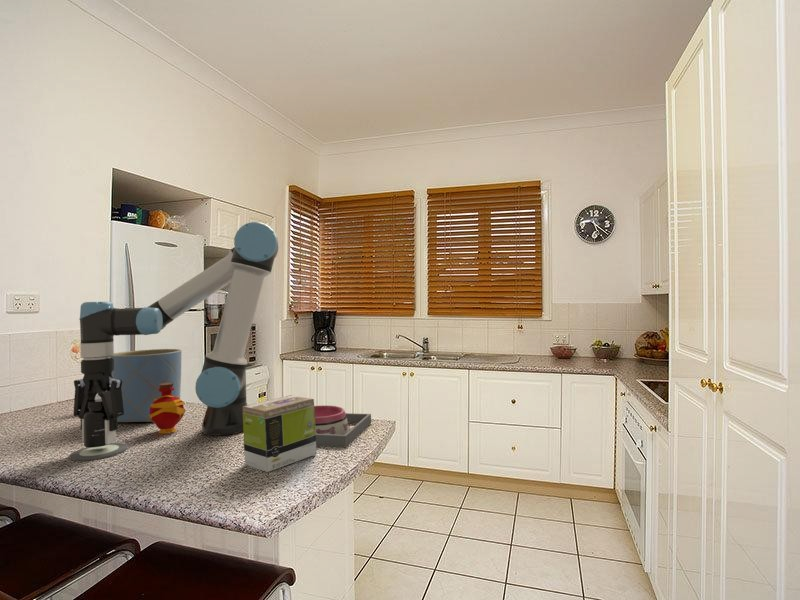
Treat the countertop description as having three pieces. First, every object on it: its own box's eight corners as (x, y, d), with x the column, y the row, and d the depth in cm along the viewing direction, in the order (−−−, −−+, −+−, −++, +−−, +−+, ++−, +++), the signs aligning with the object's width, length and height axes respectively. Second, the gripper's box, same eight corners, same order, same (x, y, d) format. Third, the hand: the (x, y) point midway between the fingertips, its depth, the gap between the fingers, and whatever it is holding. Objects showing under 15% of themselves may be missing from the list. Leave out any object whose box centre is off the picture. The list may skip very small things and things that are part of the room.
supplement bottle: (98, 448, 118) (97, 403, 118) (77, 447, 119) (76, 402, 119) (120, 440, 125) (119, 397, 125) (99, 440, 126) (98, 397, 126)
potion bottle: (144, 437, 135) (143, 388, 135) (153, 428, 145) (152, 382, 145) (182, 434, 138) (181, 385, 138) (189, 425, 148) (187, 380, 148)
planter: (136, 410, 173) (135, 349, 173) (194, 409, 172) (193, 348, 172) (94, 426, 150) (92, 356, 150) (160, 425, 149) (158, 355, 149)
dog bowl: (362, 429, 139) (361, 407, 139) (320, 446, 123) (319, 421, 123) (319, 422, 149) (318, 401, 149) (275, 436, 134) (274, 413, 134)
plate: (138, 446, 127) (138, 443, 127) (98, 462, 114) (98, 459, 114) (100, 444, 130) (100, 441, 130) (57, 459, 117) (57, 457, 117)
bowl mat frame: (371, 423, 145) (370, 413, 145) (346, 446, 121) (345, 435, 121) (302, 420, 150) (301, 411, 150) (265, 443, 127) (265, 432, 127)
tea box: (293, 448, 121) (291, 393, 122) (317, 455, 115) (315, 398, 115) (243, 464, 110) (241, 404, 110) (266, 473, 103) (265, 409, 104)
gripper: (139, 356, 124) (140, 439, 124) (80, 356, 128) (82, 436, 128) (116, 359, 116) (118, 448, 116) (55, 359, 121) (56, 444, 121)
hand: (99, 442), depth 122 cm, fingers closed on supplement bottle, 7 cm apart
